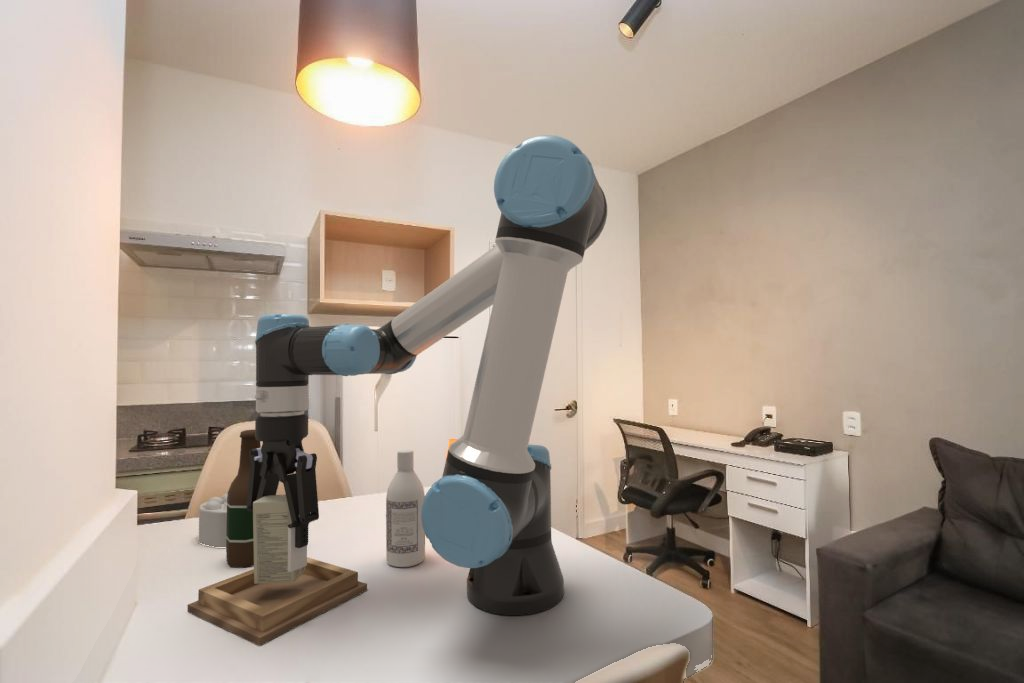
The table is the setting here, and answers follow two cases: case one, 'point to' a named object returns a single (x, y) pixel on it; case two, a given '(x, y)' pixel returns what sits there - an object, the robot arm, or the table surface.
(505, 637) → the table surface
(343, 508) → the table surface
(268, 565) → the skincare box
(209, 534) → the lumpy-topped squat cylinder
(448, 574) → the table surface
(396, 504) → the bath foam
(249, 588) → the wooden tray
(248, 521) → the beer bottle
